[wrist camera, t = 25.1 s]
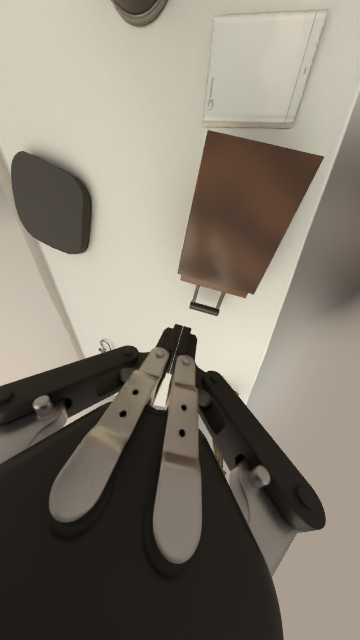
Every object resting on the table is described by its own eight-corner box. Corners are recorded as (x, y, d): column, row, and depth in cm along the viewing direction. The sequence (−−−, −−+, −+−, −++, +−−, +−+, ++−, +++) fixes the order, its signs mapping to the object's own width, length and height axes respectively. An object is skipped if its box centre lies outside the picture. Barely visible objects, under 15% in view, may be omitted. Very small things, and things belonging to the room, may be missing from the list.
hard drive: (202, 120, 21) (294, 121, 20) (214, 12, 17) (331, 3, 15) (203, 128, 22) (288, 129, 21) (213, 30, 18) (321, 23, 17)
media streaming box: (94, 185, 28) (82, 180, 26) (88, 259, 36) (78, 260, 33) (22, 149, 28) (3, 139, 25) (31, 231, 35) (17, 231, 32)
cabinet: (241, 280, 32) (253, 294, 23) (185, 265, 32) (177, 273, 24) (283, 186, 24) (324, 156, 15) (208, 168, 24) (207, 129, 16)
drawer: (227, 309, 34) (231, 326, 28) (180, 296, 35) (173, 309, 28) (274, 202, 24) (300, 187, 17) (207, 186, 25) (206, 164, 18)
